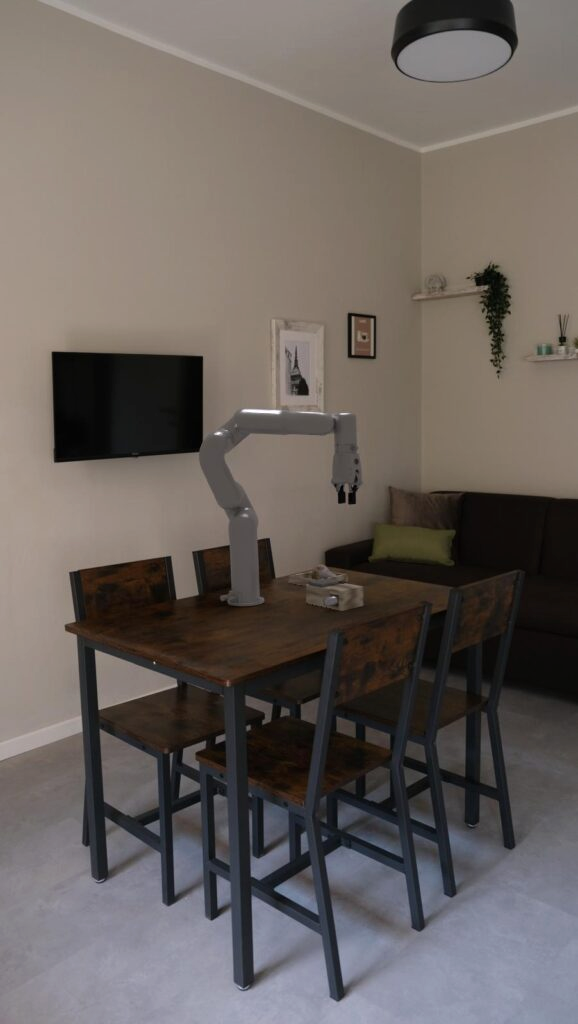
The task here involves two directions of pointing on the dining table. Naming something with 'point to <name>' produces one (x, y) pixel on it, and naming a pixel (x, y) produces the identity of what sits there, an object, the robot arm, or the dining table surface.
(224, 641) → the dining table surface
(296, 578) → the coaster frame
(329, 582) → the flap
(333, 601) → the pin
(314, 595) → the block
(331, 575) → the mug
